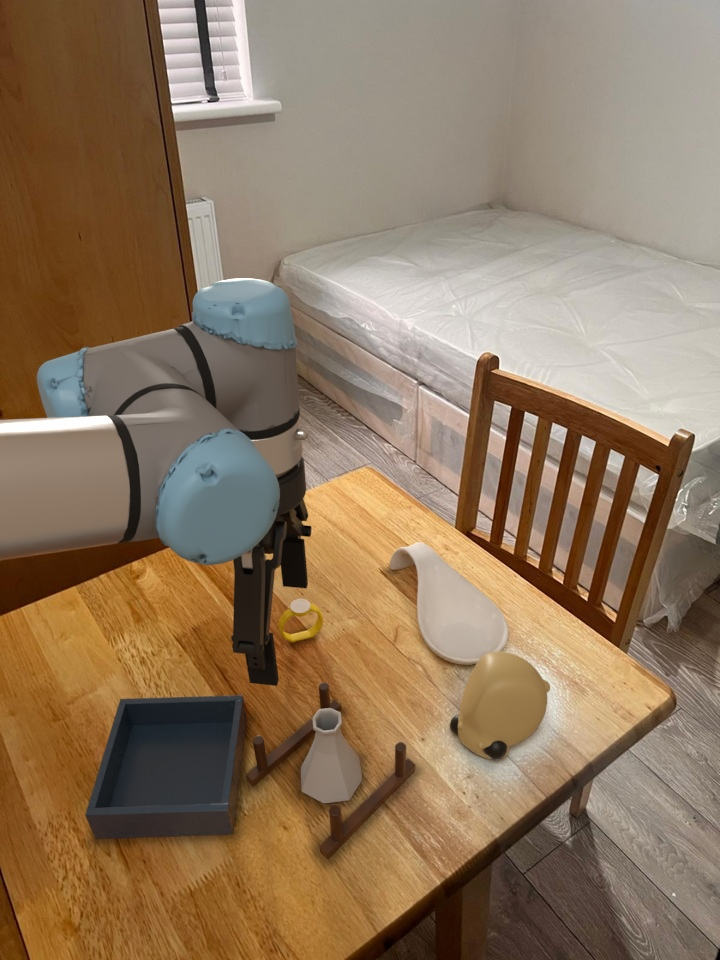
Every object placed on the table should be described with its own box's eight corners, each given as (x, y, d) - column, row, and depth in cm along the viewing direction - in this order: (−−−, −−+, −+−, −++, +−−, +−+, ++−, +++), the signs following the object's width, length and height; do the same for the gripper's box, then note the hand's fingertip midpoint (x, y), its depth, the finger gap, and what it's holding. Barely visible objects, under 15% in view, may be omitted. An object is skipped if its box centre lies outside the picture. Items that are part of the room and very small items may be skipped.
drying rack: (327, 860, 75) (324, 828, 72) (246, 780, 83) (240, 748, 79) (415, 770, 83) (416, 738, 80) (334, 705, 91) (332, 673, 87)
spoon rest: (523, 659, 96) (529, 621, 92) (446, 691, 92) (449, 652, 88) (433, 554, 114) (435, 518, 110) (365, 577, 110) (365, 540, 106)
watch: (283, 650, 98) (280, 619, 95) (278, 636, 100) (274, 605, 97) (325, 637, 100) (323, 606, 97) (319, 624, 102) (317, 593, 99)
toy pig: (463, 723, 92) (420, 723, 84) (508, 640, 92) (468, 632, 84) (526, 773, 86) (486, 778, 78) (575, 684, 86) (539, 680, 77)
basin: (232, 834, 77) (227, 810, 75) (95, 839, 77) (84, 815, 75) (247, 719, 89) (243, 694, 87) (128, 723, 89) (120, 698, 87)
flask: (308, 743, 86) (303, 687, 81) (368, 753, 85) (367, 697, 79) (291, 799, 81) (284, 743, 75) (355, 810, 79) (353, 755, 74)
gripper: (266, 556, 53) (288, 735, 65) (329, 394, 74) (337, 554, 86) (168, 547, 54) (208, 726, 66) (257, 390, 75) (275, 549, 87)
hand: (281, 630), depth 76 cm, fingers open, 13 cm apart
